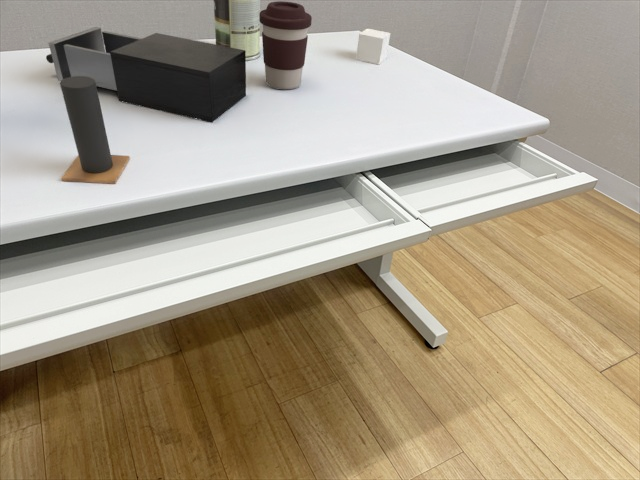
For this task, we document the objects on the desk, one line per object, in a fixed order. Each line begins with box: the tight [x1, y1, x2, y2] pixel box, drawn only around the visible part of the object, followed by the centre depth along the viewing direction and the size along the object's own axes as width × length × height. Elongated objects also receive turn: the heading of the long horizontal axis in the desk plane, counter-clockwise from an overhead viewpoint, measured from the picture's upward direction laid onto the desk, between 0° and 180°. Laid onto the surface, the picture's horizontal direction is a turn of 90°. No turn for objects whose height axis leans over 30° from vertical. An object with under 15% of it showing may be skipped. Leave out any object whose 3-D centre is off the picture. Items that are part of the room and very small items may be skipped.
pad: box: [60, 154, 131, 185], centre depth 66 cm, size 7×7×1 cm
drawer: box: [45, 26, 143, 92], centre depth 89 cm, size 22×12×7 cm, turn 72°
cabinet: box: [110, 32, 247, 123], centre depth 85 cm, size 19×14×9 cm
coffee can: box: [213, 0, 261, 62], centre depth 106 cm, size 10×10×14 cm
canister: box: [59, 76, 113, 173], centre depth 62 cm, size 4×4×12 cm
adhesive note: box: [355, 27, 391, 66], centre depth 114 cm, size 6×6×6 cm
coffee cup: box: [259, 0, 313, 91], centre depth 93 cm, size 10×10×15 cm
